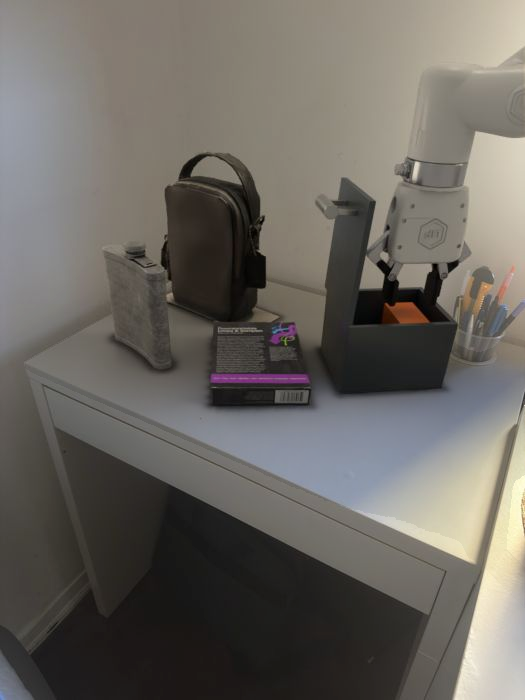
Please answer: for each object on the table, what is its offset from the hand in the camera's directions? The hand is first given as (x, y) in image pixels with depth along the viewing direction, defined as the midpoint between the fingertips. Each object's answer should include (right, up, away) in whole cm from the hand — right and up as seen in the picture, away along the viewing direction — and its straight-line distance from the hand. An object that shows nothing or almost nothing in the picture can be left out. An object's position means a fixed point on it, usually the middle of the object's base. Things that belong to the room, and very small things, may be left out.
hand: (409, 300), depth 73 cm
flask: (-41, -7, +8) cm, 42 cm away
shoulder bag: (-30, +1, +22) cm, 37 cm away
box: (-22, -10, +5) cm, 25 cm away
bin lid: (-10, +6, -5) cm, 13 cm away
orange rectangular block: (0, -5, +3) cm, 5 cm away
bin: (-3, -10, +6) cm, 12 cm away
